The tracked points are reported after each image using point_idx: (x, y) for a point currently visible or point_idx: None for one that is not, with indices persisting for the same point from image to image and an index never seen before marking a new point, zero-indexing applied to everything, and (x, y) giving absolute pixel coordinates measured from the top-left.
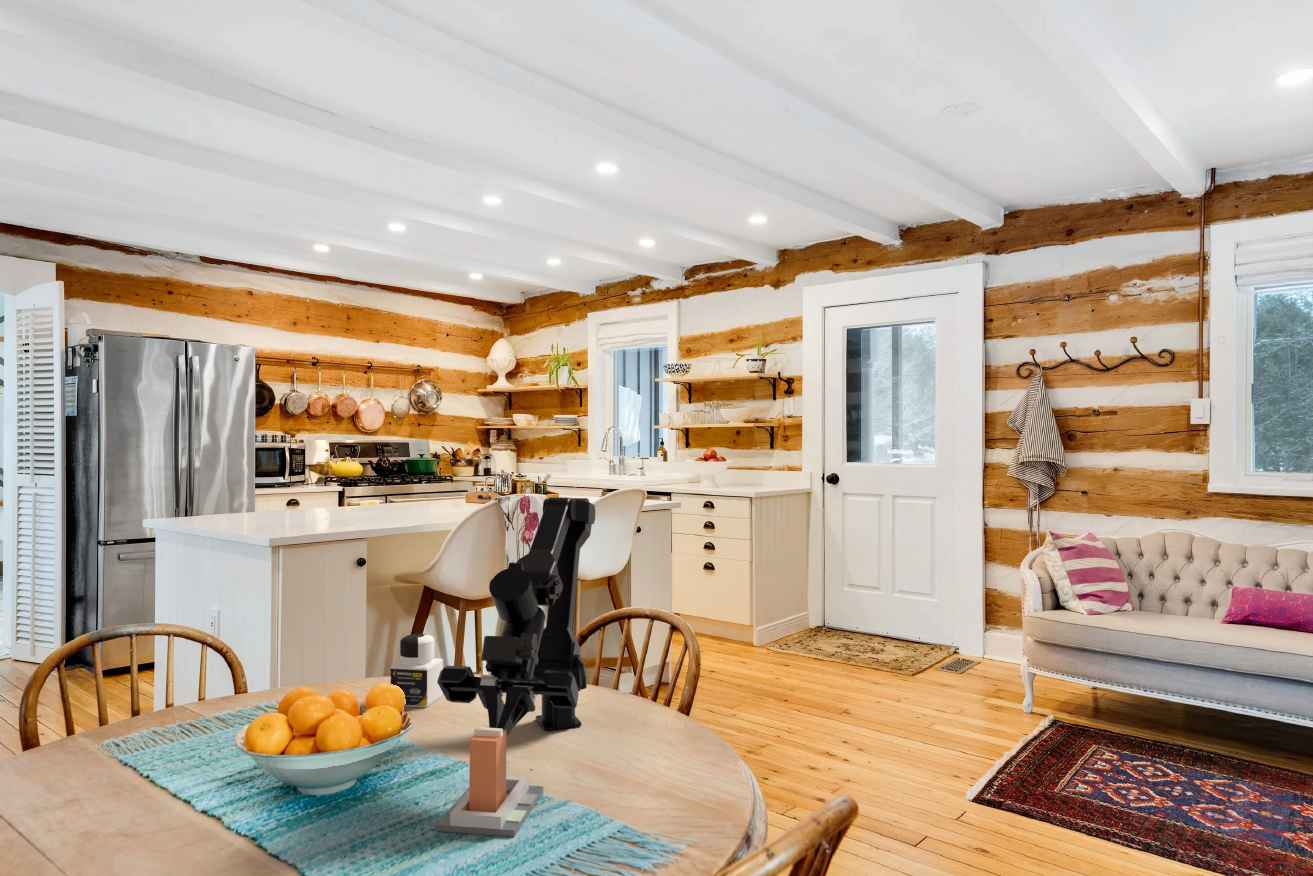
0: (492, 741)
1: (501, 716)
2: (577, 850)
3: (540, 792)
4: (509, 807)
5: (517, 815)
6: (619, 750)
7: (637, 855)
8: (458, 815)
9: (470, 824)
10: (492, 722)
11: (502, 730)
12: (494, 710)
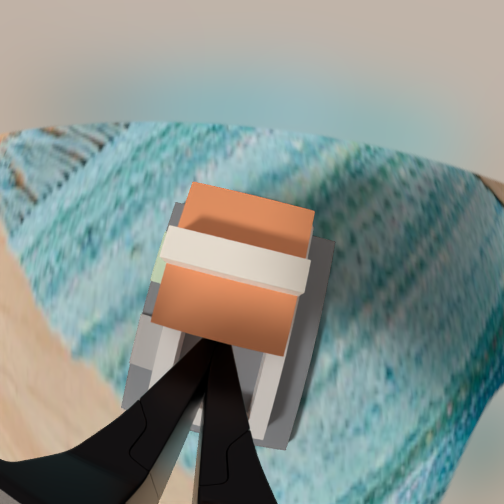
0: (210, 185)
1: (173, 419)
2: (85, 160)
3: (126, 385)
4: None
5: None
6: None
7: (25, 150)
8: None
9: None
10: (226, 406)
11: (162, 258)
12: (217, 459)
